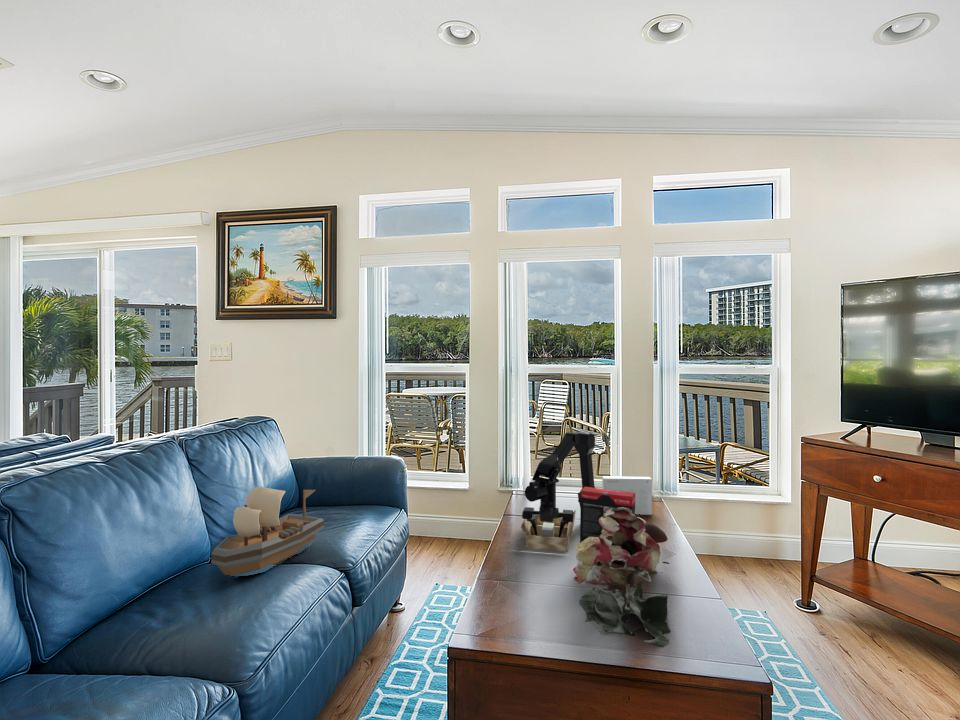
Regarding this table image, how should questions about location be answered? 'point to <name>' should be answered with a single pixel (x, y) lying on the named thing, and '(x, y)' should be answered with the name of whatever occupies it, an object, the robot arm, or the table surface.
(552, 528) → the box
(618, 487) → the skincare box
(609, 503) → the graphics card box
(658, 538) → the decorative mushroom
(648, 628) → the rose bouquet
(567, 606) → the table surface
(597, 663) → the table surface
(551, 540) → the wooden cubby shelf
